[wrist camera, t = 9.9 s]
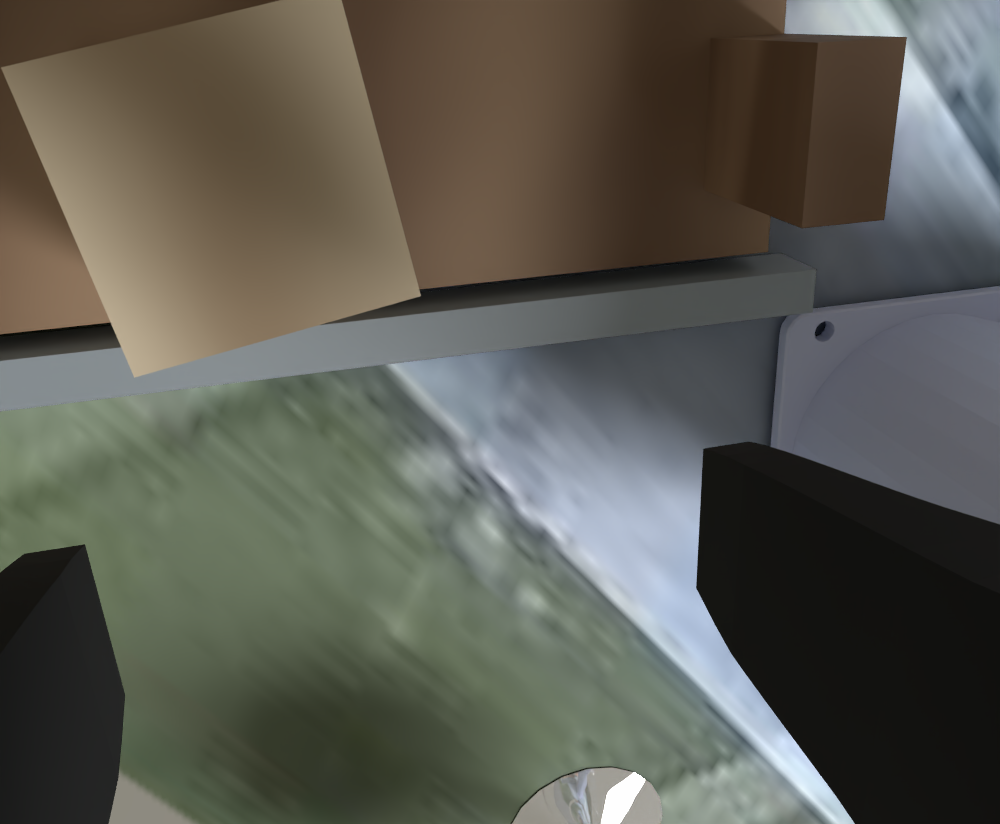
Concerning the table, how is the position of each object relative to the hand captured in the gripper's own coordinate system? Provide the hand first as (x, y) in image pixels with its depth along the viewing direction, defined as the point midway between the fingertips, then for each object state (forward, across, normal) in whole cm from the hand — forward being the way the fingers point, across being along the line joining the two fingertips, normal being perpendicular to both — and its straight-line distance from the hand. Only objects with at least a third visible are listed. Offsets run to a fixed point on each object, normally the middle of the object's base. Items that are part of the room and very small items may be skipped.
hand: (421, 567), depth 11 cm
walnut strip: (+10, -1, -4) cm, 11 cm away
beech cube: (+9, +2, -4) cm, 10 cm away
